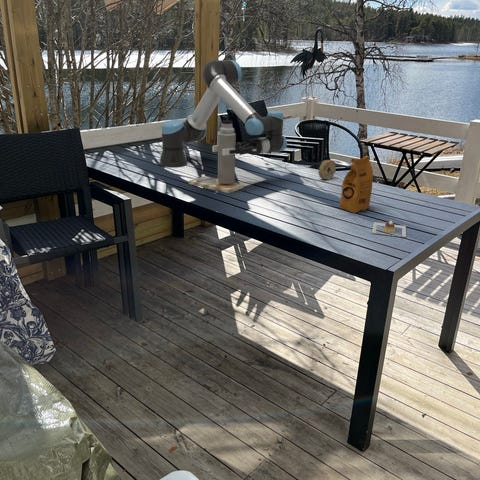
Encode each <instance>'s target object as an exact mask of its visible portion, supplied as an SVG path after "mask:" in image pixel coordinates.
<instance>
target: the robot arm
mask: <svg viewBox="0 0 480 480" xmlns="http://www.w3.org/2000/svg"><path fill="white" fill-rule="evenodd" d="M201 76H202V80H203V82H204V84H205V85H206V87H207V88H206V89H205V92H204V93H203V96H201V99H200V101H199V102H198V104H197V106H196V107H195V109H194V111H193V113H191V114H189V115H187V117H186V119H185V120H184V121H183V120H181V119H172V120H171V119H170V120H166V121H164V122H163V123H162V124H161V144H162V146H161V148H162V150H161V156H160V159H159V165H160V166H161V167H166V166H167V168H178V167H179V168H180V167H184V166H187V165H188V159H187V157H186V153H185V149H184V148H185V147H184V146H185V145H184V144H189V143H197V142H200V141H202V140H203V139H205V137H206V135H207V132H208V131H207V121H208V120H209V118H210V117H211V116H212V113H213V112H214V110H215V108H216V107H217V105H218V104H219V102H220V100H221V99H222V101H223V102H224V103H225V105H227V106H228V107H229V108H230V110H232V111H233V113H234V114H235V115H236V116H237V117H238V118H239V119H240V120H241V121H242V122H243V123H244V124H245V125H244V128H245V132H246V134H248V135H250V136H259V135H263V134H266V136H265V137H257V138H255V137H254V138H250V139H248V142H246V141H245V142H241V141H238V142H236V143H235V148H229V149H222V155H232V154H235V155H240V156H242V155H247V154H250V155H253V156H254V155H264V154H268V153H278V152H282V151H285V150H286V148H287V147H288V142H287V138H286V137H285V136H284V135H283V129H284V113H283V111H281V110H270V111H268V112H267V116H261V115H259V113H258V112H257V111H256V110H255V109H254V107H252V105H250V103H248V102H247V101H246V100H245V98H244V97H242V95H240V93H239V92H238V91H237V90H236V89H235V88H234V87H233V85H237V84H238V83H240V82H241V80H242V78H243V77H242V76H243V73H242V67H241V66H240V64H239V63H238V62H237V61H236V60H233V59H224V60H221V59H220V60H217V59H216V60H210V61H207V63H206V64H205V65H204V66H203V69H202V73H201ZM211 152H213V153H215V152H216V153H218V144H216V145H212V151H211Z"/></svg>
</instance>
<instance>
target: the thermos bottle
mask: <svg viewBox="0 0 480 480" xmlns="http://www.w3.org/2000/svg"><path fill="white" fill-rule="evenodd" d="M236 135H237V133H236V132H235V128H234V127H233V121H232V120H229V119H228V120H221V127H220V128H219V132H218V134H217V145H218V152H217V179H218V182H219V183H225V184H229V183H233V182H234V183H236V182H235V180H236V177H235V176H236V175H235V174H236V153H235V154H232V155H222V149H229V148H235V143H237V142H236V141H237V138H236V137H237V136H236Z"/></svg>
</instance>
